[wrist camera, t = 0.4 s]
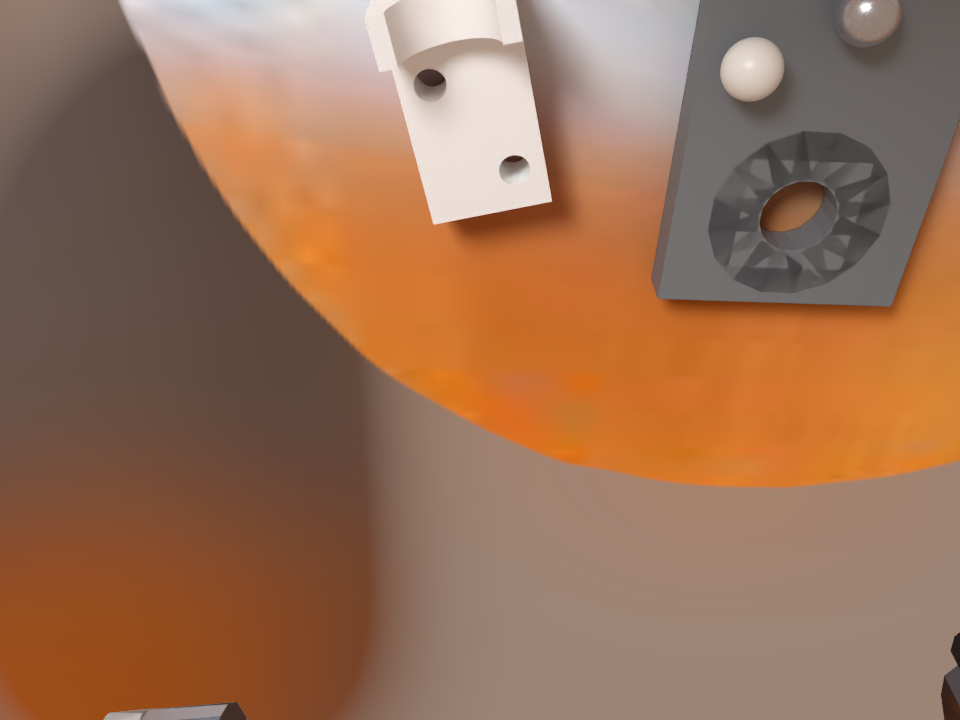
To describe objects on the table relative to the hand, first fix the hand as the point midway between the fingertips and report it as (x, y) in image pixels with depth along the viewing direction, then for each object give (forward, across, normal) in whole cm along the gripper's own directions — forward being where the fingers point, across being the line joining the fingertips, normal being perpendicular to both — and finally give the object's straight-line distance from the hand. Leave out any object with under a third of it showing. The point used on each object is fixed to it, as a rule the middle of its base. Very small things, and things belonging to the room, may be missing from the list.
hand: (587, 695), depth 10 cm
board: (+44, -17, +10) cm, 48 cm away
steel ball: (+40, -18, +5) cm, 44 cm away
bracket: (+44, +3, +7) cm, 45 cm away
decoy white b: (+40, -12, +7) cm, 42 cm away
